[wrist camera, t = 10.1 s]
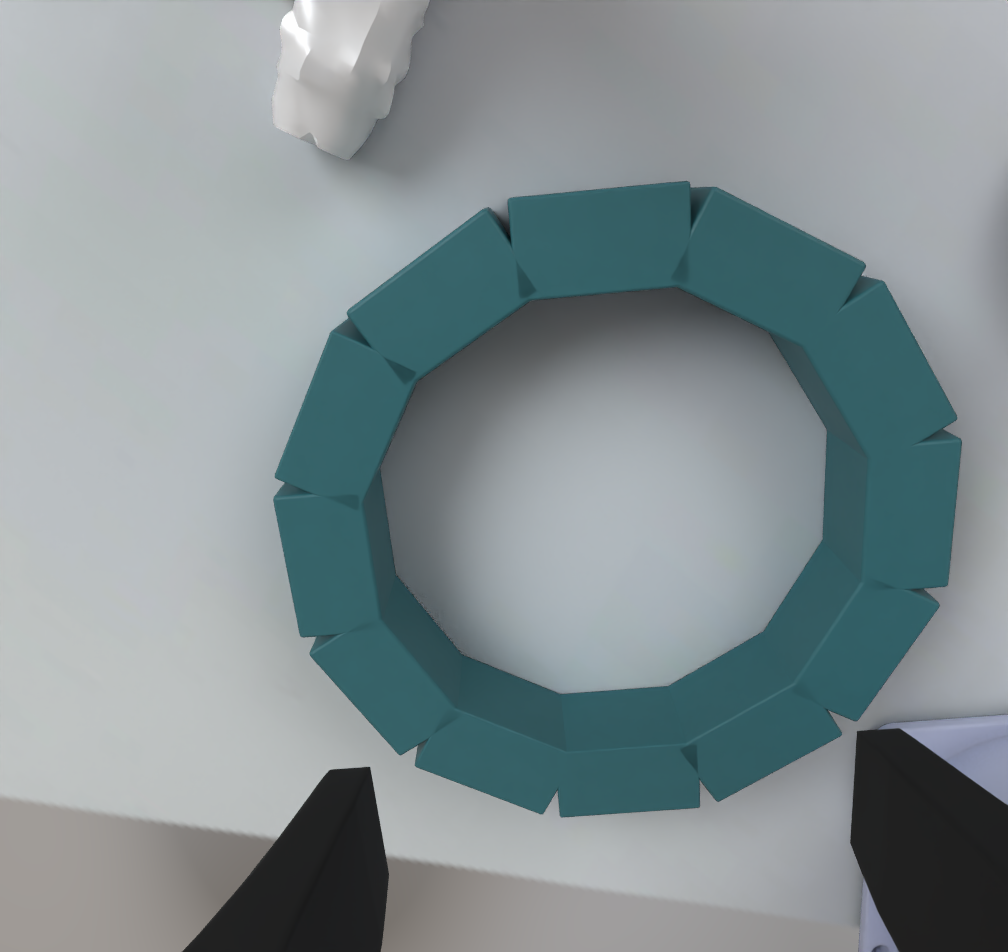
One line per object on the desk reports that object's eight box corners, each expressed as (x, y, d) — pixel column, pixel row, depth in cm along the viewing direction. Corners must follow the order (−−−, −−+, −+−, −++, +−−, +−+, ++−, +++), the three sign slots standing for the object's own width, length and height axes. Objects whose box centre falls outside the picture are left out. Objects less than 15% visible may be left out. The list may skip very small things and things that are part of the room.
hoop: (885, 730, 23) (929, 792, 20) (355, 769, 23) (337, 834, 21) (928, 157, 18) (992, 151, 15) (255, 222, 18) (217, 226, 16)
